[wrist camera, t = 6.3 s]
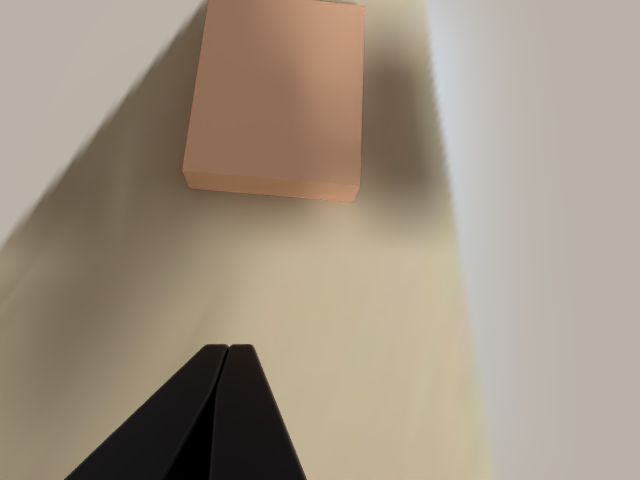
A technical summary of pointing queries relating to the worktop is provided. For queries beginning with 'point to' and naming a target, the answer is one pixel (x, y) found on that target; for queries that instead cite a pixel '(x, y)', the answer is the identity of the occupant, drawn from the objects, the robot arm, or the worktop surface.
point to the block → (278, 100)
